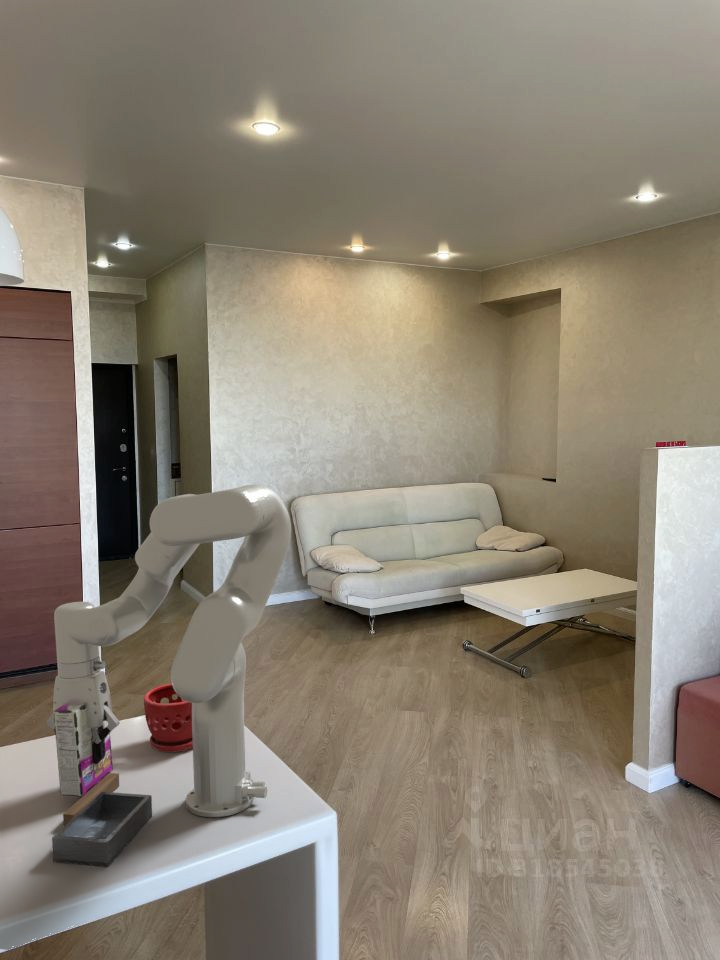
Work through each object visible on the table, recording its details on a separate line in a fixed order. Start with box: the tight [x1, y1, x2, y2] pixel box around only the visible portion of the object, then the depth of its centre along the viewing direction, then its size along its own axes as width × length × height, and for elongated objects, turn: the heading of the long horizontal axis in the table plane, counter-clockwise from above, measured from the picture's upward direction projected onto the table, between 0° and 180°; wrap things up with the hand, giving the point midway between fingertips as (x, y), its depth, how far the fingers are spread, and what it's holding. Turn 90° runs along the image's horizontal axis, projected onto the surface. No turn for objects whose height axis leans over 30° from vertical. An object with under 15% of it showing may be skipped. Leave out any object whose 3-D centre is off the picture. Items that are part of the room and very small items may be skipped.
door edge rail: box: [62, 772, 120, 827], centre depth 138 cm, size 2×16×2 cm, turn 170°
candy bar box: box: [52, 705, 114, 797], centre depth 143 cm, size 11×5×16 cm, turn 169°
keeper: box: [51, 791, 153, 868], centre depth 126 cm, size 10×16×4 cm, turn 170°
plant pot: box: [143, 683, 193, 753], centre depth 164 cm, size 13×13×12 cm
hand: (85, 759), depth 143 cm, fingers closed on candy bar box, 5 cm apart
